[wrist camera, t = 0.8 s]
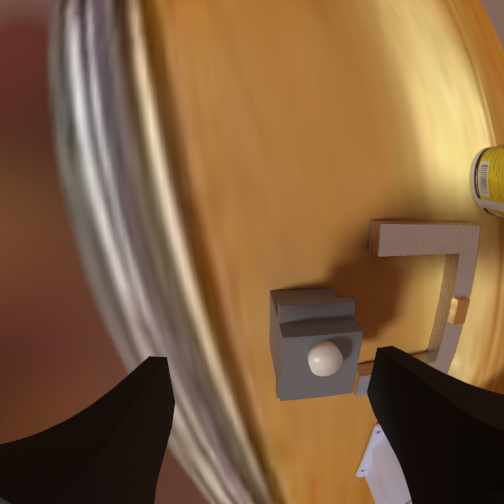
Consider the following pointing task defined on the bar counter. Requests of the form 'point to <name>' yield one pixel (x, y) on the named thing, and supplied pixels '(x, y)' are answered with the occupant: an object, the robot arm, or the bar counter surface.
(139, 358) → the bar counter surface
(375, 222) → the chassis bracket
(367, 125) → the bar counter surface
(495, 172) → the supplement bottle
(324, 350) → the servo block
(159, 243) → the bar counter surface
